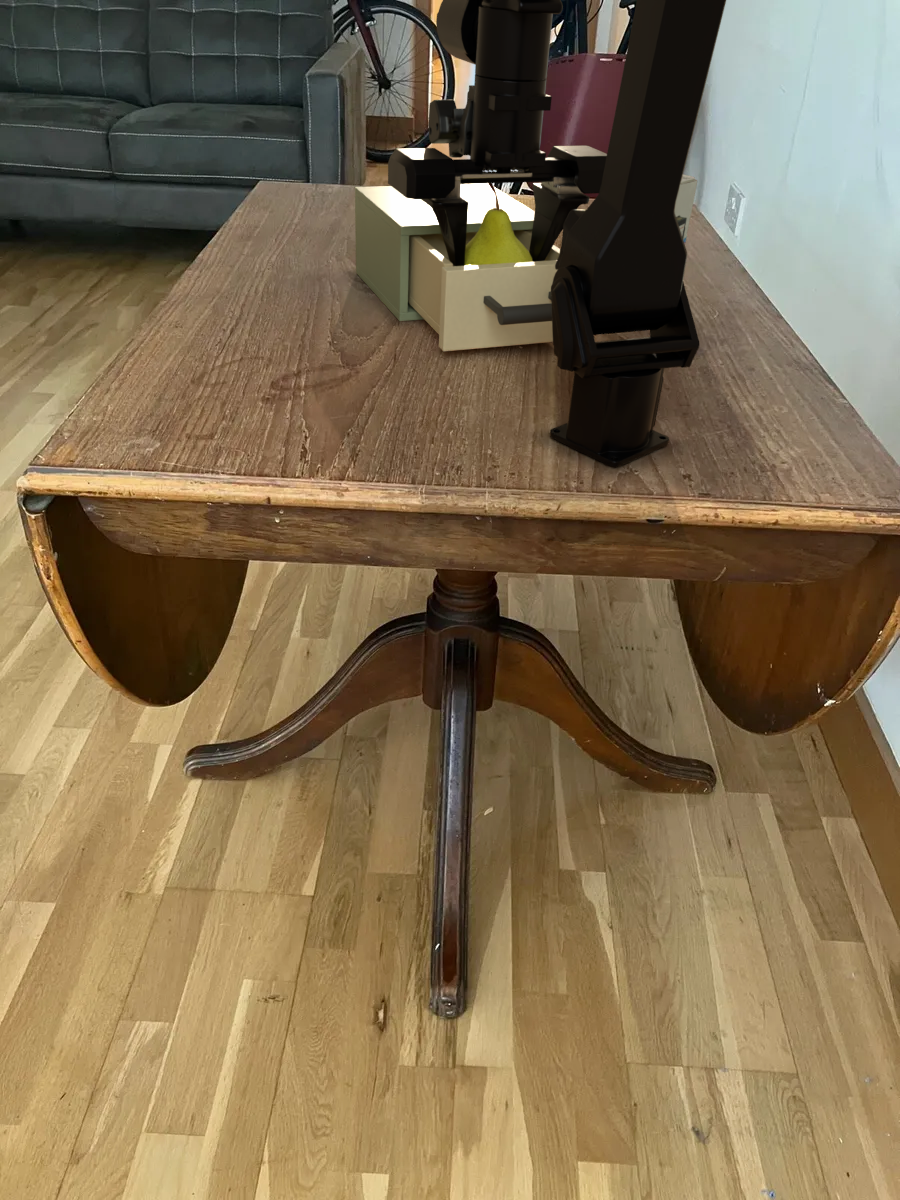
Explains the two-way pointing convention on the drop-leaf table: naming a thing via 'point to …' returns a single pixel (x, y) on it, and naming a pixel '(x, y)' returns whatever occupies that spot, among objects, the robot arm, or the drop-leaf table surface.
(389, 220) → the cabinet
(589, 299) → the robot arm
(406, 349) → the drop-leaf table surface
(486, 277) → the drawer
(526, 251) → the fruit
